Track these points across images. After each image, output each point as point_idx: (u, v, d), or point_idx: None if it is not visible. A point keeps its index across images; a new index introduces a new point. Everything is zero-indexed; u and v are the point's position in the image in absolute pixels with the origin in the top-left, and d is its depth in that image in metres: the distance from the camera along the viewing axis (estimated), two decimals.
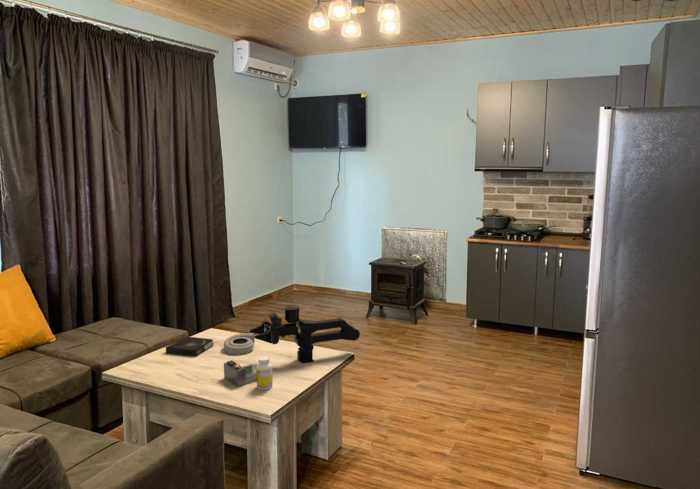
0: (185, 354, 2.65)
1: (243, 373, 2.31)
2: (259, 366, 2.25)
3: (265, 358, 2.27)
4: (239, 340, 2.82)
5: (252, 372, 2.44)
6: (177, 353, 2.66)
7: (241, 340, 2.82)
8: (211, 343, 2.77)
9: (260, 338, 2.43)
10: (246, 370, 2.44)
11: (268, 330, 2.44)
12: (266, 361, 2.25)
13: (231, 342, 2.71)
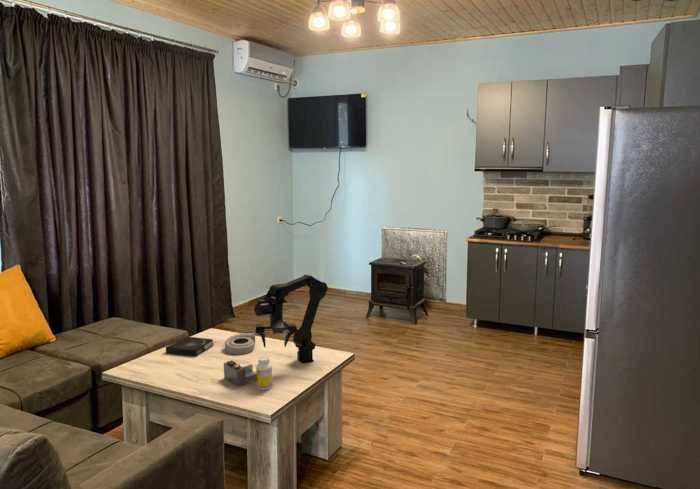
0: (185, 354, 2.65)
1: (243, 373, 2.31)
2: (259, 366, 2.25)
3: (265, 358, 2.27)
4: (240, 340, 2.82)
5: (252, 372, 2.44)
6: (177, 353, 2.66)
7: (242, 340, 2.82)
8: (211, 343, 2.77)
9: None
10: (246, 370, 2.44)
11: (288, 334, 2.43)
12: (266, 361, 2.25)
13: (232, 342, 2.71)
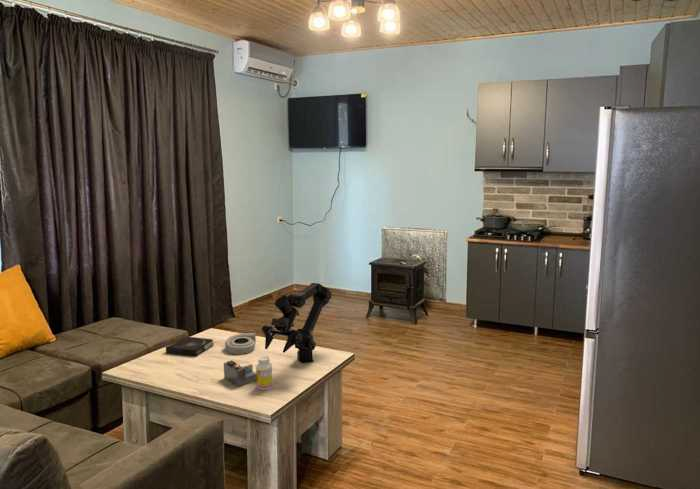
0: (185, 354, 2.65)
1: (243, 373, 2.31)
2: (259, 366, 2.25)
3: (265, 358, 2.27)
4: (240, 340, 2.82)
5: (252, 372, 2.44)
6: (177, 353, 2.66)
7: (242, 340, 2.82)
8: (211, 343, 2.77)
9: (288, 348, 2.34)
10: (246, 370, 2.44)
11: None
12: (266, 361, 2.25)
13: (232, 342, 2.71)
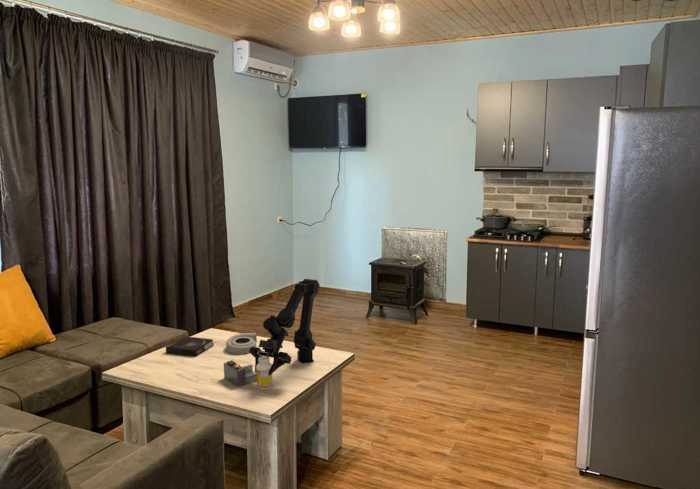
0: (185, 354, 2.65)
1: (243, 373, 2.31)
2: (259, 366, 2.25)
3: (265, 358, 2.27)
4: (241, 340, 2.82)
5: (252, 372, 2.44)
6: (177, 353, 2.66)
7: (243, 340, 2.83)
8: (211, 343, 2.77)
9: (274, 370, 2.27)
10: (246, 370, 2.44)
11: None
12: (266, 361, 2.25)
13: (233, 342, 2.72)
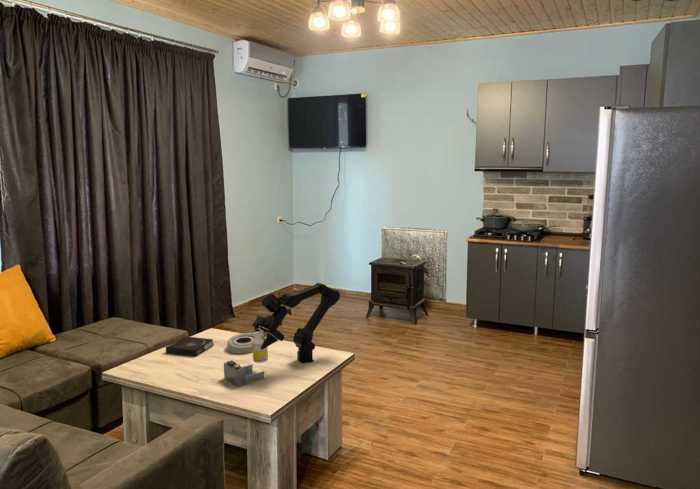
0: (185, 354, 2.65)
1: (243, 373, 2.31)
2: (253, 340, 2.39)
3: (260, 333, 2.39)
4: (242, 339, 2.83)
5: (252, 372, 2.44)
6: (177, 353, 2.66)
7: (244, 339, 2.83)
8: (211, 343, 2.77)
9: (266, 345, 2.38)
10: (246, 370, 2.44)
11: None
12: (259, 336, 2.38)
13: (234, 341, 2.72)
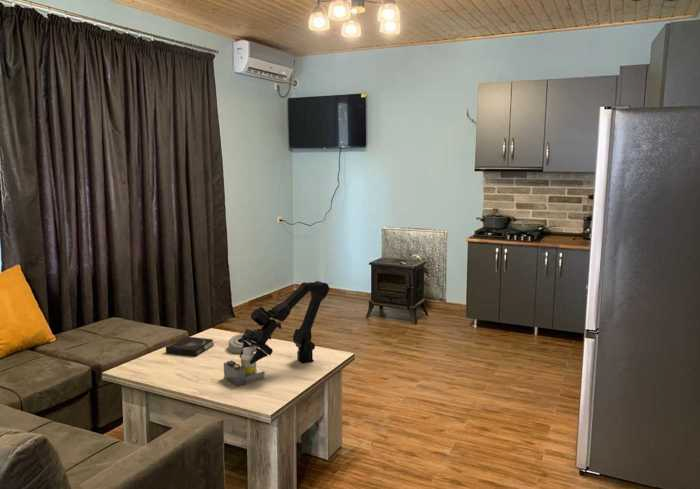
0: (185, 354, 2.65)
1: (243, 373, 2.31)
2: (242, 355, 2.36)
3: (249, 349, 2.37)
4: None
5: None
6: (177, 353, 2.66)
7: None
8: (211, 343, 2.77)
9: (256, 360, 2.34)
10: None
11: (256, 348, 2.34)
12: (248, 352, 2.35)
13: (236, 341, 2.72)
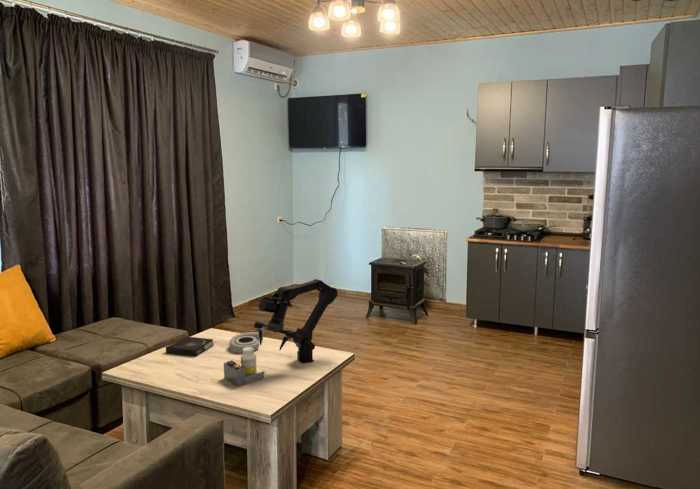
0: (185, 354, 2.65)
1: (243, 373, 2.31)
2: (242, 355, 2.36)
3: (249, 349, 2.37)
4: (244, 339, 2.83)
5: None
6: (177, 353, 2.66)
7: (246, 339, 2.84)
8: (211, 343, 2.77)
9: (283, 345, 2.46)
10: None
11: None
12: (248, 352, 2.35)
13: (237, 341, 2.73)
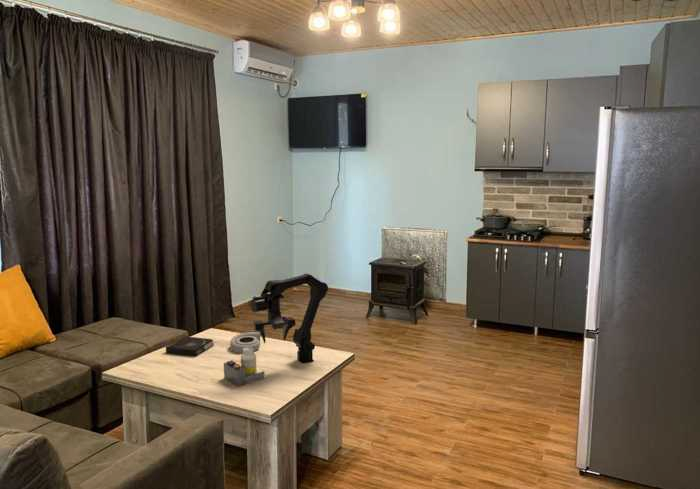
0: (185, 354, 2.65)
1: (243, 373, 2.31)
2: (242, 355, 2.36)
3: (249, 349, 2.37)
4: (245, 339, 2.84)
5: None
6: (177, 353, 2.66)
7: (247, 339, 2.84)
8: (211, 343, 2.77)
9: None
10: None
11: (287, 328, 2.46)
12: (248, 352, 2.35)
13: (237, 341, 2.73)
